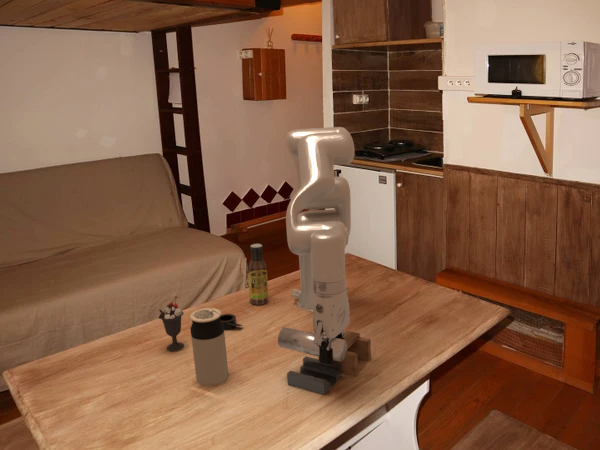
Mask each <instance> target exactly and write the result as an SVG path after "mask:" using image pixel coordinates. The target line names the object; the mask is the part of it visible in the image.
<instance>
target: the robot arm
mask: <svg viewBox="0 0 600 450" xmlns="http://www.w3.org/2000/svg"><path fill="white" fill-rule="evenodd" d="M285 145H286V149H287V152H288V153H289V156H290V157H291V159H292V160H293V163H294V165H295V171H296V173H295V174H296V192H295V193H294V195H293V196H292V198H291V200H289V204H288V205H287V209H286V213H285V225H286V240H287V245H288V249H289V251H290V252H291V253H292V254H294V255H297V256H298V260H299V261H298V264H299V276H300V278H299V279H300V289H297V288H293V289H292V291H291V292H292V293H291V297H292V298H297V299H298V300H297V302H296V306H297V307H298V308H299V309H301V310H303V311H308V312H312V328H313V333H314V334H315V337H314V340H313V343H315V344H316V345H317V346H318V348H319V354H320V362H321V363H324V364H328V365H332V364H333V349H332V348H331V341H332V339H334V338H338V339H343V340H344V338H343V337H344V335H345V332H344V331H345V329H346V328H348V326H350V323H351V314H350V303H349V296H348V295H349V294H348V290H347V280H346V277H347V276H346V251H345V250H346V247H347V246H348V244H349V238H350V237H349V236H350V234H351V227H352V222H351V221H352V220H351V219H352V217H351V216H352V215H351V214H352V213H351V188H350V185H349V181H348V180H347V179H346V178H345V177H343V176H335V173H334V166H341V165H349V164H351V163H353V161H354V159H355V144H354V139H353V137H352V135H351V133H350V132H349V130H347V128H345V127H342V126H332V127H331V126H330V127H311V128H299V129H294V130H290V131H289V132H287V134H286V136H285ZM303 210H305V211H303ZM323 338H327V343H326V342H325V341H323Z"/></svg>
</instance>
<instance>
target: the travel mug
mask: <svg viewBox="0 0 600 450" xmlns="http://www.w3.org/2000/svg"><path fill="white" fill-rule="evenodd" d="M221 315H222V312H221V310H220V309H218V308H215V307H205V308H200V309H197V310H195V311H193V312H192V313H191V314H190V316H189V319H190V320H191V322H192V324H191V326H190V328H189V330H190V336H191V337H190V338H191V344H192V353H193V354H192V355H193V360H194V361H193V362H194V369H195V377H196V378H195V379H196V382H197V383H198V384H200V385H201V386H206V387H207V386H208V387H210V386H216V385H219V384H222V383H224V382H225V381H227V379H228V378H229V375H230V374H229V365H228V364H229V363H228V356H227V346H226V337H225V336H226V335H225V334H226V333H225V330H224V324H223V322H222V321H221V320H220V316H221Z"/></svg>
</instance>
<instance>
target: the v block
mask: <svg viewBox="0 0 600 450" xmlns="http://www.w3.org/2000/svg"><path fill="white" fill-rule="evenodd" d="M299 371H300V372H297V371H294V370H293V371H292V370H289V371H288V372H287V373H286V378H287V381H286V382H287V386H291V387H294V388H297V389H301V390H304V391H307V392H312V393H316V394H319V395H323V396H325V395H327V393H328V392H329V391H330V390H332V388H333V387H334V386H335V385H336V383H338V381H339V380H340V379H341V378H343V373H342V365H339V364H335V363H333V364H332V365H328V364H324V363H321V362H320V360H319V358H313V357H310V356H305V357H303V358H302V365H301V366H300V367H299Z"/></svg>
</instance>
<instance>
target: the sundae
mask: <svg viewBox="0 0 600 450" xmlns="http://www.w3.org/2000/svg"><path fill="white" fill-rule="evenodd" d="M177 299H178V296H174V298H173V300H172V301H171V302H169V303H168V304H167V305H165V307H164V308H163V311H162V309H158V311H159V312H160V314H159V316H158V319H159V320H162V324H163V326H164V330H165V332H166V334H167V335H168V336H169V337H171V340H172V341H171V342H172V343H170V344H169V345H167V346H166V350H167V351H168V350H169V351H168V352H178V350H179V351H181V350H183V349H184V348H185V344H184V343H183V342H178V339H177V336H178V335H179V334H180V333H181V330H182V316H183V315H184V311H183V310H181V308H180V307H178V306H179V305H178V303H176V300H177ZM182 348H183V349H182Z"/></svg>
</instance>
